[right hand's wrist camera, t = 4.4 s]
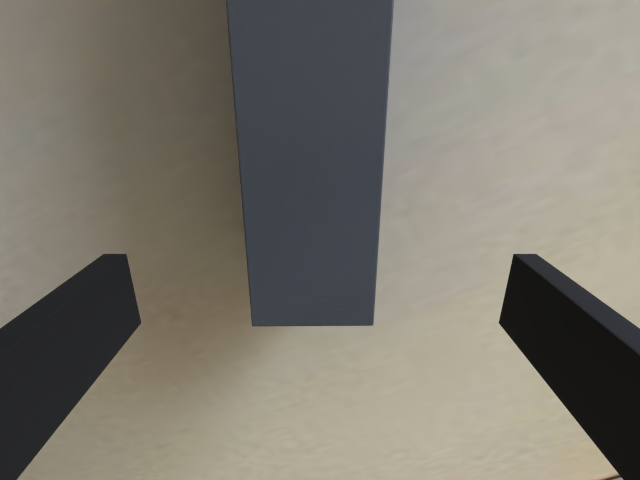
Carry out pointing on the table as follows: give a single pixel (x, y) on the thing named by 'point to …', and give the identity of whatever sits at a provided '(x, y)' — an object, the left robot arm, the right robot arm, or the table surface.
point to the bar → (311, 154)
